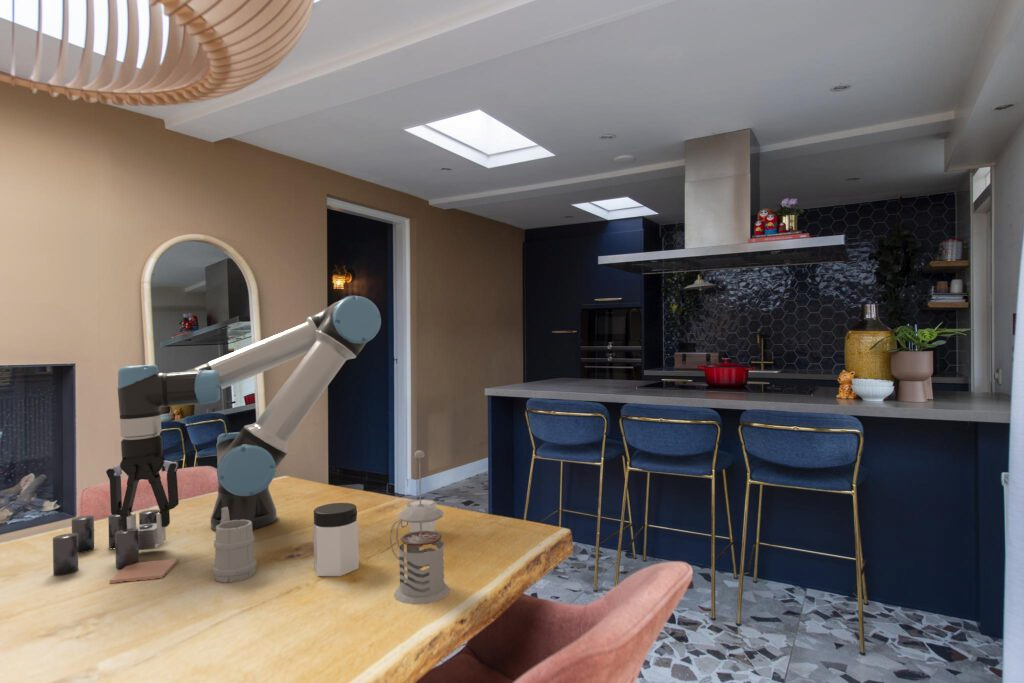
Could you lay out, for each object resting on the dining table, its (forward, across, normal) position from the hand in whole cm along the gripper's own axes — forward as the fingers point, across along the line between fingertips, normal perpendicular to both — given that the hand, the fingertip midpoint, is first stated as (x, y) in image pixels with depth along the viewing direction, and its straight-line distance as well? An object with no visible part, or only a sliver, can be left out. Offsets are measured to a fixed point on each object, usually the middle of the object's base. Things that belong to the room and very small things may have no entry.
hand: (147, 543), depth 127 cm
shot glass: (+4, -59, +3) cm, 59 cm away
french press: (+4, -56, +36) cm, 67 cm away
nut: (0, 0, 0) cm, 1 cm away
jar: (+3, -41, +21) cm, 46 cm away
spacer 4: (+2, +1, +7) cm, 8 cm away
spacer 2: (+2, +15, -7) cm, 17 cm away
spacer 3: (+2, +8, -7) cm, 11 cm away
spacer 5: (+2, +2, -8) cm, 8 cm away
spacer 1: (+2, +12, +7) cm, 14 cm away
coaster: (+2, -4, +12) cm, 13 cm away
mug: (+3, -21, +17) cm, 27 cm away
